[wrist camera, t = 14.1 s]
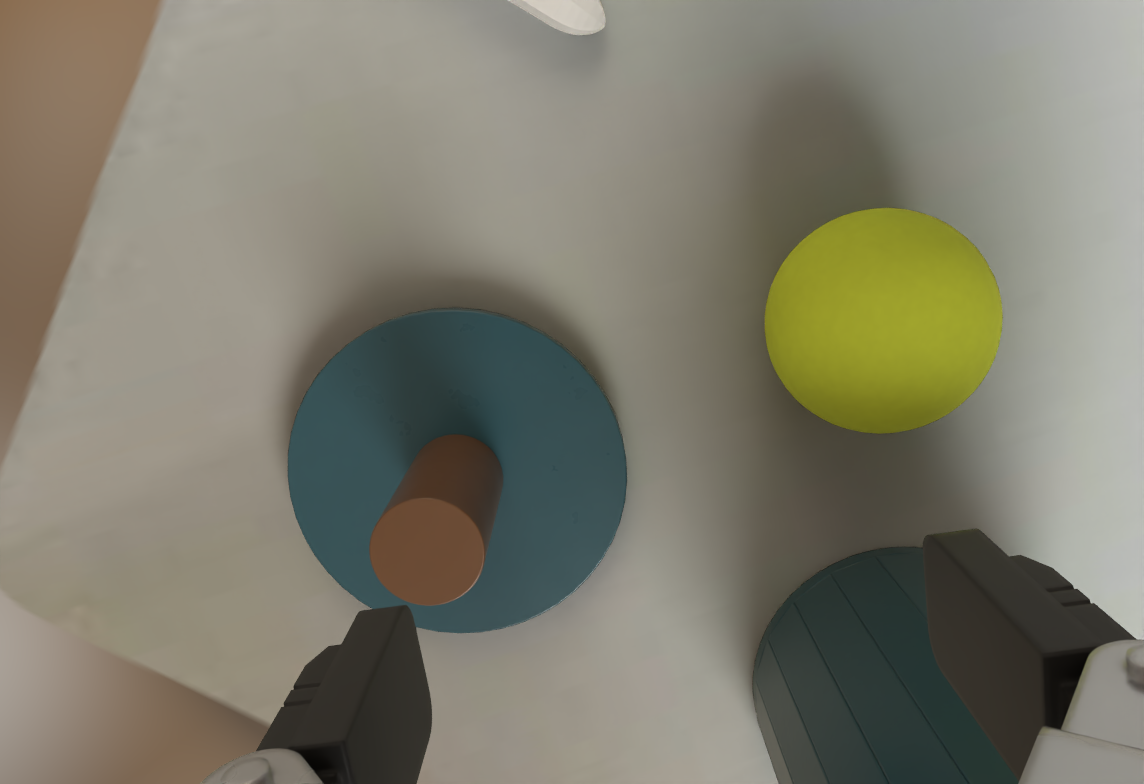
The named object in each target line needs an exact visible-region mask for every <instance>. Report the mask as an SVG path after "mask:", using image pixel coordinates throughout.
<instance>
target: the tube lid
mask: <svg viewBox="0 0 1144 784" xmlns="http://www.w3.org/2000/svg"><path fill="white" fill-rule="evenodd" d="M288 482H289V490H290V497H291V501H292V504H293V508H294V512H295V515H296V518H297V521H298V523H299V526H300V528H301V530H302V533H303V535H304V537H305V539H306V541H307V543H308V544H309V546H310V548H311V550H312V551H313V553H314V555H315V556H316V557H317V559H318V560H319V561H320V563H321V564H322V565H323V567H324V568H325V569H326V571H327V572H328V573H329V574H330V575H331V576H332V577H333V578H334V579H335V580H336V581H337V582H338V583H339V584H340V585H341V586H342V587H343V588H344V589H345V590H347V591H348V592H349V593H350V594H352V595H353V596H354V597H355V598H357V599H358V600H359V601H361V602H362V603H364V604H366V605H367V606H369V607H370V608H372V609H378V608H386V607H393V606H400V605H407V606H408V607H409V608H410V610H411V612H412V615H413V618H414V622H415V627H418V628H423V629H428V630H433V631H438V632H451V633H474V632H485V631H491V630H497V629H502V628H506V627H509V626H512V625H516V624H519V623H522V622H525V621H527V620H529V619H531V618H534V617H536V616H538V615H541V614H542V613H544V612H546V611H547V610H549V609H551V608H552V607H554V606H556V605H558V604H559V603H560V602H562V601H563V600H564V599H566V598H567V597H568V596H569V595H571V594H572V593H573V592H574V591H576V590H577V589H578V588H579V587H580V586H581V585H582V584H583V583H584V581H585V580H586V579H587V578H588V577H589V576H590V575H591V574H592V573H593V571H594V570H595V569H596V567H597V566H598V565H599V563H600V562H601V561H602V559H603V557H604V556H605V554H606V552H607V550H608V548H609V547H610V545H611V543H612V541H613V539H614V536H615V533H616V531H617V528H618V526H619V523H620V520H621V516H622V512H623V508H624V503H625V496H626V486H627V468H626V456H625V450H624V444H623V439H622V434H621V431H620V428H619V425H618V422H617V418H616V415H615V413H614V411H613V409H612V407H611V405H610V403H609V401H608V398H607V396H606V394H605V393H604V391H603V390H602V388H601V387H600V385H599V384H598V382H597V381H596V379H595V378H594V376H593V375H592V374H591V373H590V372H589V370H588V369H587V368H586V367H585V366H584V365H583V364H582V362H581V361H580V360H579V359H578V358H577V357H576V356H574V355H573V354H572V353H571V352H570V351H569V350H568V349H567V348H565V347H564V346H563V345H562V344H561V343H559V342H558V341H556V340H555V339H553V338H552V337H550V336H549V335H547V334H546V333H544V332H543V331H541V330H539V329H537V328H535V327H533V326H531V325H529V324H527V323H525V322H523V321H520V320H517V319H514V318H511V317H508V316H506V315H503V314H499V313H494V312H489V311H485V310H480V309H469V308H437V309H429V310H424V311H418V312H413V313H409V314H406V315H403V316H400V317H397V318H394V319H391V320H388V321H386V322H384V323H382V324H380V325H378V326H376V327H374V328H372V329H370V330H368V331H367V332H365V333H364V334H362V335H361V336H359V337H358V338H356V339H355V340H353V341H351V342H350V343H349V344H347V345H346V346H345V347H344V348H343V349H342V350H341V351H340V352H338V353H337V354H336V355H335V356H334V357H333V358H332V359H331V360H330V361H329V362H328V363H327V364H326V366H325V367H324V368H323V369H322V370H321V371H320V373H319V374H318V375H317V377H316V378H315V380H314V381H313V383H312V384H311V386H310V388H309V389H308V391H307V392H306V394H305V396H304V399H303V401H302V403H301V405H300V407H299V409H298V412H297V415H296V418H295V421H294V425H293V428H292V431H291V436H290V443H289V450H288Z"/></svg>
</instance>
